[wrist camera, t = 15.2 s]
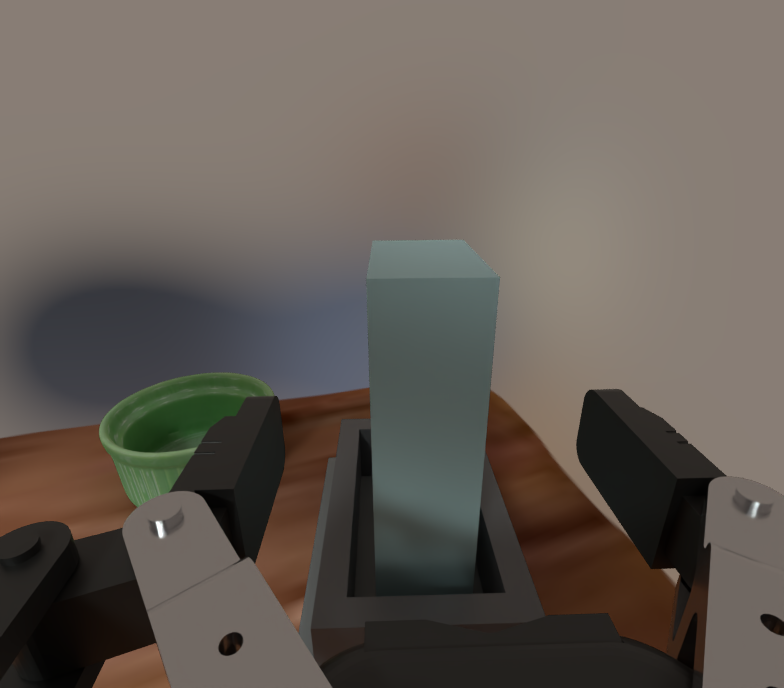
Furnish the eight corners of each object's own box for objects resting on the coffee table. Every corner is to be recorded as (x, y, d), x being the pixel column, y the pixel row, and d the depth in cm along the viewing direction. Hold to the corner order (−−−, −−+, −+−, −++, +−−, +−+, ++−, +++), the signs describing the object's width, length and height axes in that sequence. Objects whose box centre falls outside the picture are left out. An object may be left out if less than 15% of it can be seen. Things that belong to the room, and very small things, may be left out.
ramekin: (234, 540, 22) (221, 465, 20) (76, 514, 23) (52, 443, 22) (304, 436, 30) (298, 377, 28) (183, 423, 31) (171, 366, 30)
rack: (287, 737, 14) (273, 653, 13) (329, 471, 26) (325, 412, 25) (568, 727, 14) (588, 644, 13) (482, 468, 26) (487, 409, 25)
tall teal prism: (376, 620, 17) (366, 278, 12) (379, 505, 22) (372, 240, 17) (470, 618, 17) (499, 277, 12) (449, 504, 22) (463, 239, 17)
